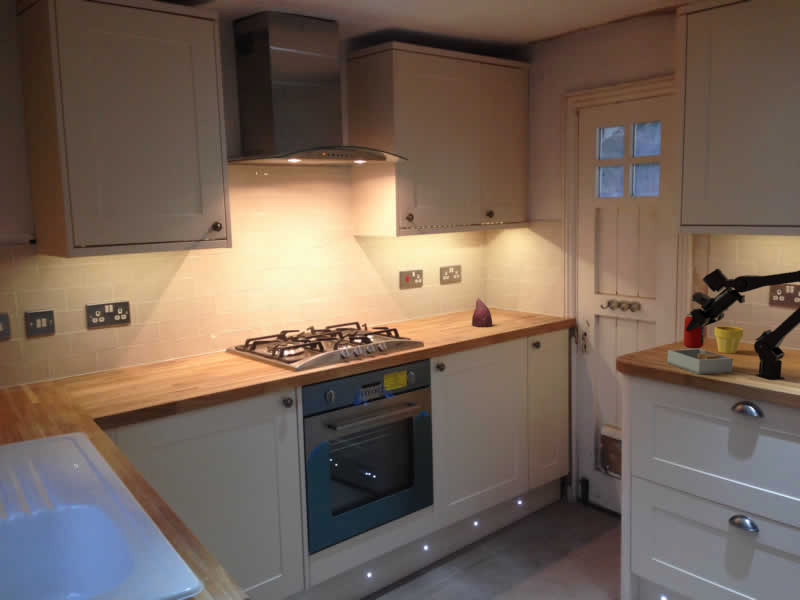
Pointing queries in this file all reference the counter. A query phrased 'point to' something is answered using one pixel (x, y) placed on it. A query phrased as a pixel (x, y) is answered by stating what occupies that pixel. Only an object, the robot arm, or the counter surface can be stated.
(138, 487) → the counter surface
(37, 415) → the counter surface
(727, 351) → the plant pot
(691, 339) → the beverage can
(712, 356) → the walnut cube
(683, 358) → the tote
